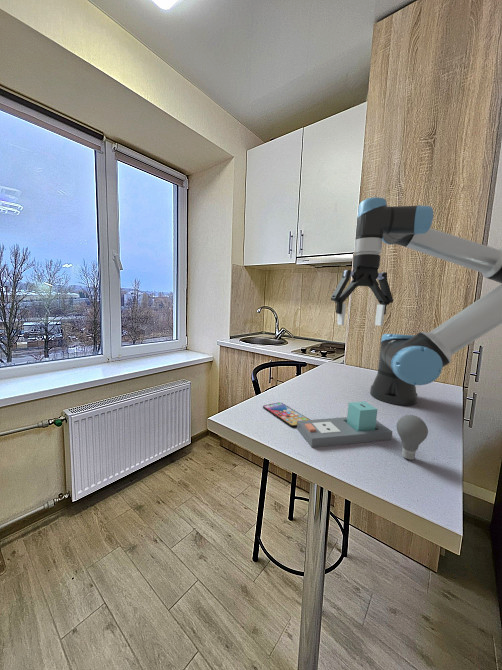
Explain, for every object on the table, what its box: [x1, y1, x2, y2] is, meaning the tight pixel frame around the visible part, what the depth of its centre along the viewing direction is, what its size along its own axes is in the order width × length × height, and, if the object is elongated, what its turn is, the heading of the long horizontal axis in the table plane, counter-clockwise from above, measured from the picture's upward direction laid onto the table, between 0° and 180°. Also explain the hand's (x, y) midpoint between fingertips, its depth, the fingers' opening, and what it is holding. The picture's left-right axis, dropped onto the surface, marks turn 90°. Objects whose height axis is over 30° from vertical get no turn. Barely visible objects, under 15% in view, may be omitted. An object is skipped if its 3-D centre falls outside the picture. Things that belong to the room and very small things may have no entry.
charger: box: [346, 401, 378, 432], centre depth 71 cm, size 5×5×7 cm
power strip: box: [296, 416, 393, 448], centre depth 70 cm, size 22×9×3 cm, turn 103°
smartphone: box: [262, 402, 311, 429], centre depth 81 cm, size 7×1×15 cm
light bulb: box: [396, 414, 429, 460], centre depth 60 cm, size 6×6×10 cm
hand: (359, 325), depth 85 cm, fingers open, 13 cm apart
